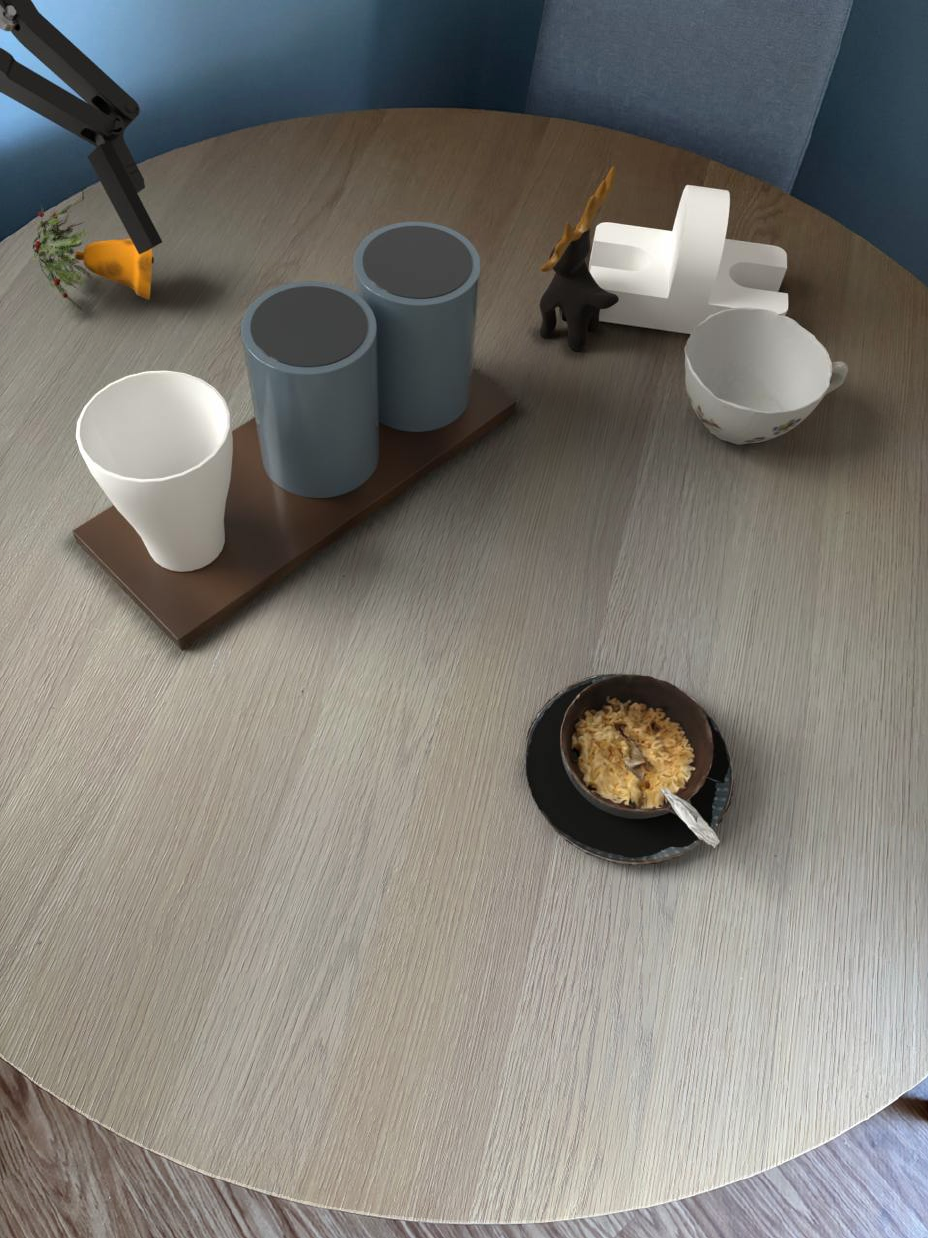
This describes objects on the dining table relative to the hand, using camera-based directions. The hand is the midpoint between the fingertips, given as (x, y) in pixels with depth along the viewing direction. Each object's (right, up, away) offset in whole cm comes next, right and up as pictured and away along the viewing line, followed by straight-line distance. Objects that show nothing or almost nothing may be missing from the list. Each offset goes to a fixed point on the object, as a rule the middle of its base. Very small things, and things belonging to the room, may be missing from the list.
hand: (59, 290), depth 66 cm
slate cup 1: (+13, -6, +24) cm, 28 cm away
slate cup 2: (+21, 0, +28) cm, 35 cm away
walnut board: (+12, -8, +24) cm, 28 cm away
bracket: (+47, +11, +39) cm, 62 cm away
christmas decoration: (-5, +10, +35) cm, 37 cm away
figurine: (+35, +6, +35) cm, 50 cm away
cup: (+3, -15, +18) cm, 23 cm away
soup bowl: (+37, -32, +11) cm, 50 cm away
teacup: (+51, -3, +31) cm, 60 cm away
